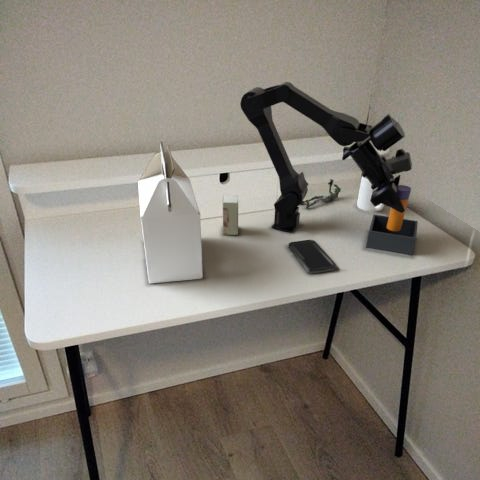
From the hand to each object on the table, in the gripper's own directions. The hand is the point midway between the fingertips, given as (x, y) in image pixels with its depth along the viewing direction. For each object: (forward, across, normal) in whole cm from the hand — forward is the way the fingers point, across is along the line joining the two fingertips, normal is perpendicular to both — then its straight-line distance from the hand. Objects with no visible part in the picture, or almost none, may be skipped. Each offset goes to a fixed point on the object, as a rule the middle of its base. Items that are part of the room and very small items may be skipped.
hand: (403, 208), depth 124 cm
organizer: (+7, 0, +9) cm, 11 cm away
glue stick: (+3, 0, +5) cm, 6 cm away
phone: (-7, -15, +22) cm, 28 cm away
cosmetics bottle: (-25, -9, +40) cm, 48 cm away
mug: (+2, +21, +14) cm, 25 cm away
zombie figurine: (-10, +22, +25) cm, 35 cm away
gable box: (-31, -29, +47) cm, 63 cm away
